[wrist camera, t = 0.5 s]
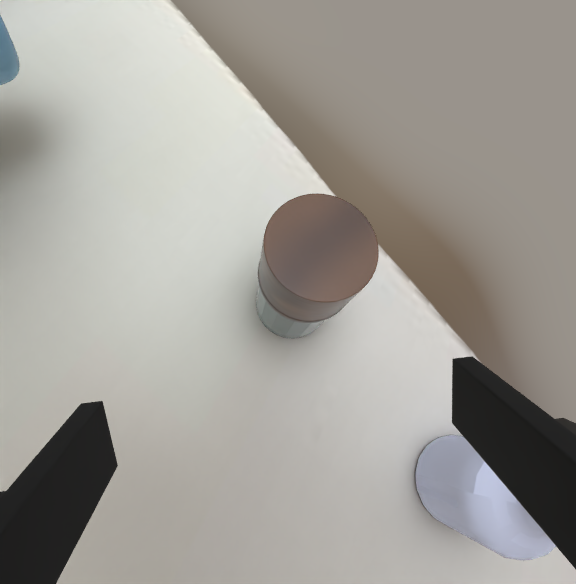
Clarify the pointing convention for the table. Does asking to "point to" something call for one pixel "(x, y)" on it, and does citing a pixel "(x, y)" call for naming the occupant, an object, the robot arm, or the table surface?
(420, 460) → the soap bottle
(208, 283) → the table surface
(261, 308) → the canister
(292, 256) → the lid
